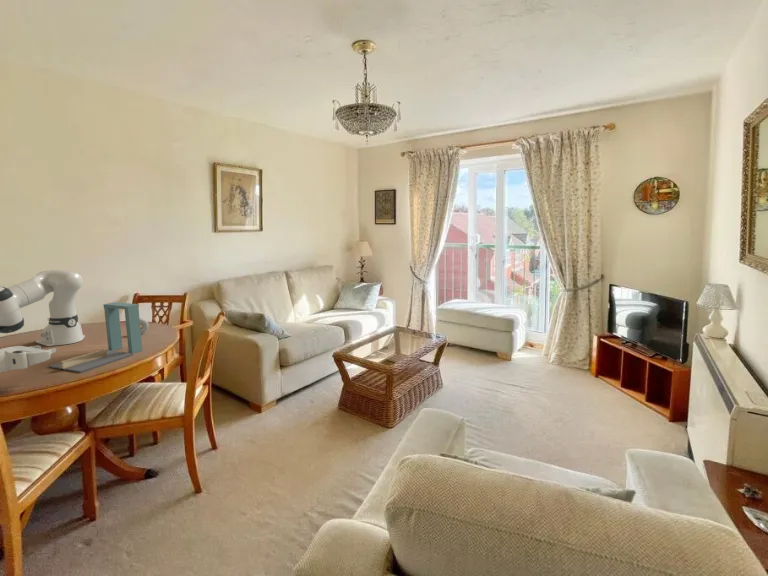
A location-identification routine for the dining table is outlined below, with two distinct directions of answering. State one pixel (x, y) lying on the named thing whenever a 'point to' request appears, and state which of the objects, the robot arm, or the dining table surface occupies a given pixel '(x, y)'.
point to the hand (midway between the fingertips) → (47, 348)
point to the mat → (96, 361)
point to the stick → (83, 359)
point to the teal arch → (131, 326)
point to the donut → (144, 325)
